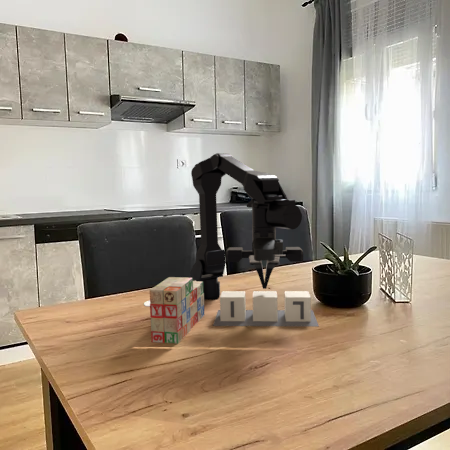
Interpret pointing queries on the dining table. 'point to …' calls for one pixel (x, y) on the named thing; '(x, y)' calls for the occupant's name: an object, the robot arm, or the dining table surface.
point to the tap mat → (250, 321)
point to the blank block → (265, 306)
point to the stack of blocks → (175, 308)
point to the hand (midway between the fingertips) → (264, 288)
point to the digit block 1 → (232, 306)
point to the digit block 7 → (297, 306)
